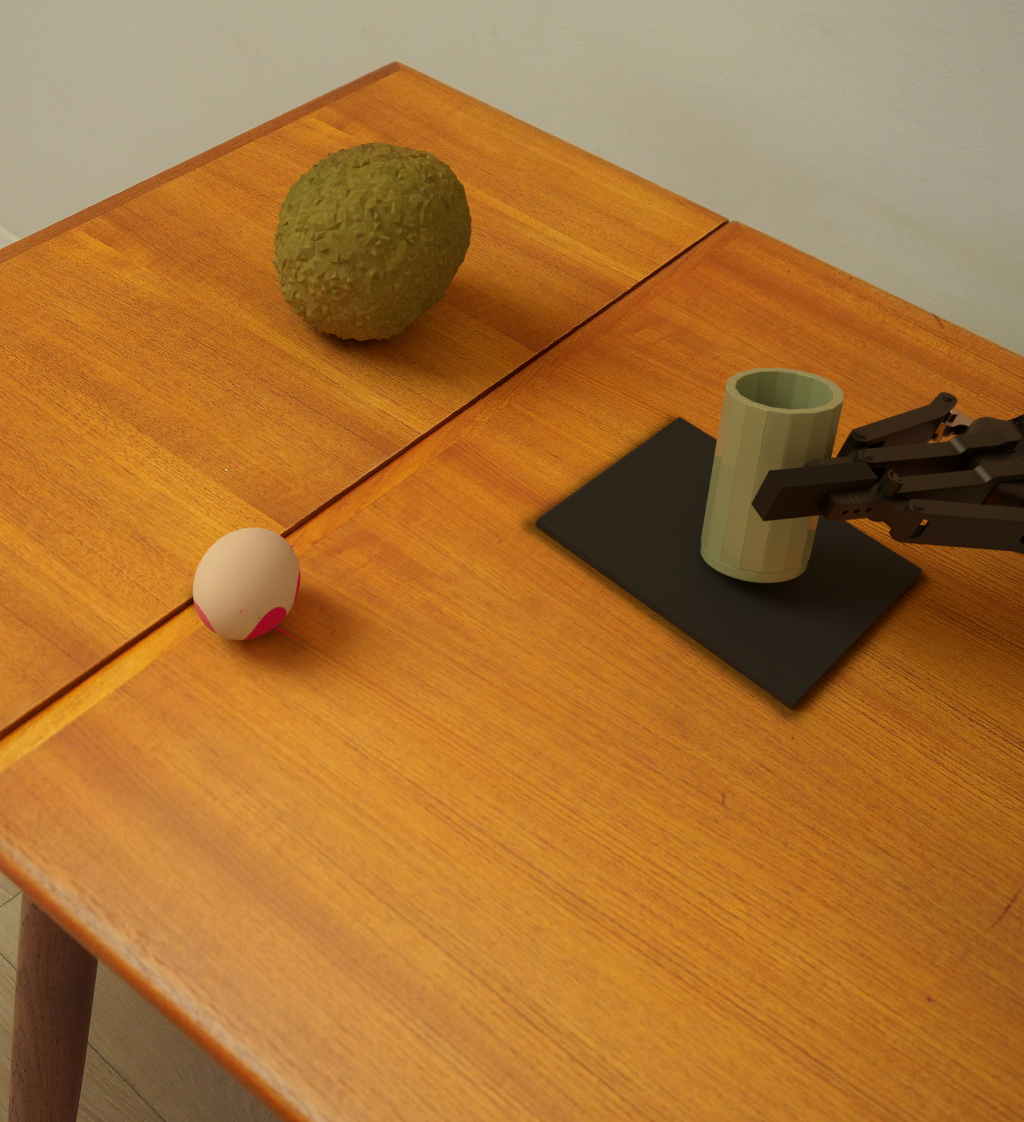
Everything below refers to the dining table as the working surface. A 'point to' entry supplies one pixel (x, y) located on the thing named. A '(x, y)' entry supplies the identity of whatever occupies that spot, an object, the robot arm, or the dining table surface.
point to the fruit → (371, 240)
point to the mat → (712, 597)
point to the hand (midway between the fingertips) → (766, 496)
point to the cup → (765, 470)
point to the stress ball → (246, 583)
